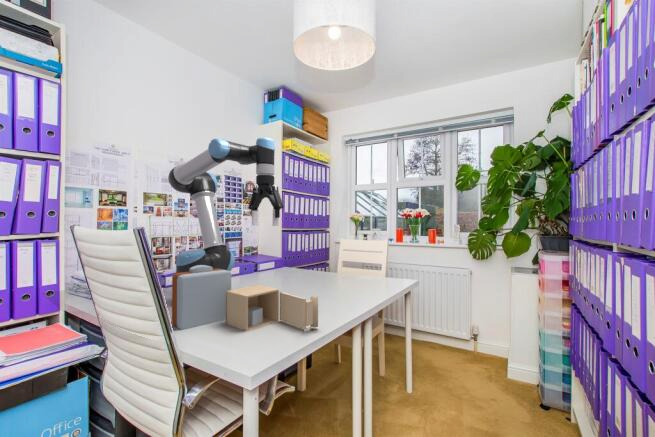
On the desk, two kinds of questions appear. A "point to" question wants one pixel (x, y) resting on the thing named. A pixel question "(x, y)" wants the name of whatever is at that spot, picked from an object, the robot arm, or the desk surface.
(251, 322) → the contents block
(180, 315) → the grey rounded slab
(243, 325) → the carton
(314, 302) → the flap
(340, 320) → the desk surface
